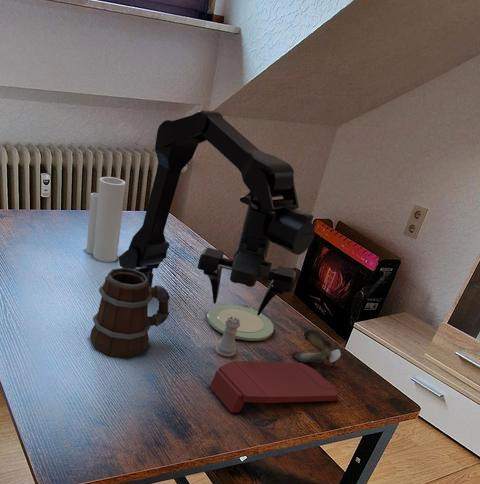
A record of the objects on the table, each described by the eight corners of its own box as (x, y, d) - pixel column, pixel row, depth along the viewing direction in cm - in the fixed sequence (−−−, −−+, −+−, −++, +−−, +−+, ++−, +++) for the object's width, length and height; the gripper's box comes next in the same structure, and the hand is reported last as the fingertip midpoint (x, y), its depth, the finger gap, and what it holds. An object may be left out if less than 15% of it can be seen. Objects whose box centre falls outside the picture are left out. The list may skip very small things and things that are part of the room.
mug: (99, 359, 106) (106, 289, 97) (85, 329, 114) (91, 262, 105) (172, 356, 111) (186, 289, 102) (154, 327, 120) (165, 263, 111)
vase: (121, 261, 146) (130, 185, 134) (97, 262, 143) (104, 184, 131) (104, 244, 153) (111, 171, 141) (80, 246, 150) (86, 170, 138)
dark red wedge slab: (296, 381, 118) (204, 381, 105) (306, 362, 115) (213, 360, 102) (331, 414, 110) (236, 419, 97) (343, 395, 107) (247, 397, 94)
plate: (231, 346, 118) (233, 341, 117) (193, 312, 129) (195, 307, 128) (286, 337, 126) (287, 332, 125) (246, 306, 136) (247, 301, 135)
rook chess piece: (213, 345, 117) (221, 313, 112) (232, 347, 118) (242, 315, 113) (216, 356, 114) (225, 323, 109) (236, 358, 115) (246, 325, 110)
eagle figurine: (335, 351, 122) (299, 335, 122) (351, 337, 115) (313, 320, 115) (326, 379, 119) (290, 363, 119) (342, 367, 113) (303, 350, 112)
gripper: (200, 234, 95) (183, 313, 104) (303, 260, 93) (277, 338, 102) (212, 217, 104) (195, 291, 113) (306, 241, 101) (282, 314, 111)
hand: (236, 308), depth 110 cm, fingers open, 9 cm apart
